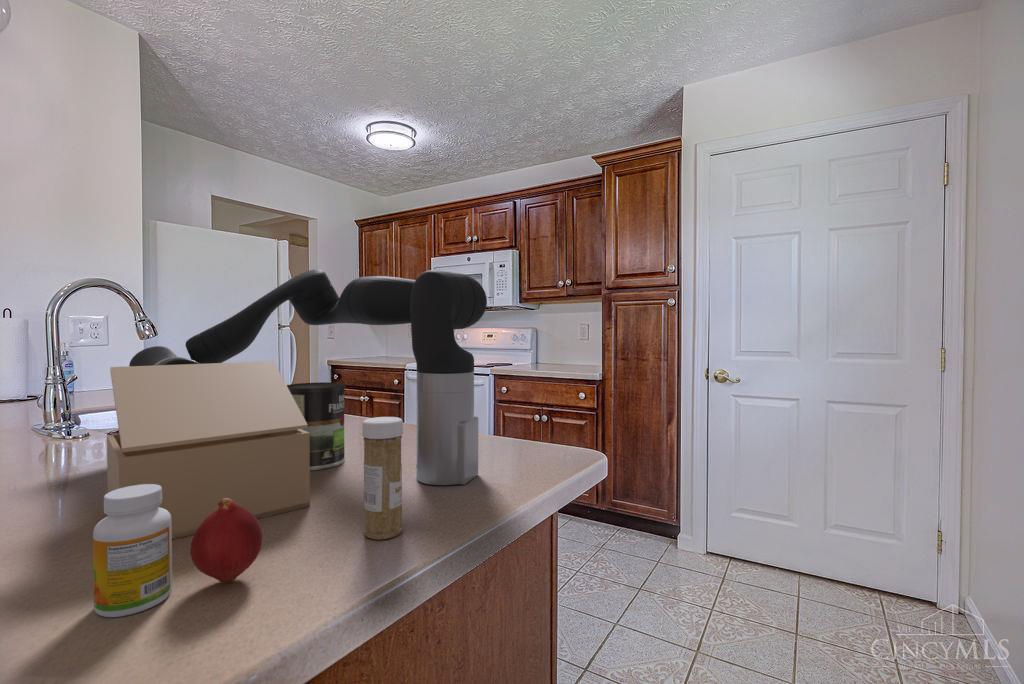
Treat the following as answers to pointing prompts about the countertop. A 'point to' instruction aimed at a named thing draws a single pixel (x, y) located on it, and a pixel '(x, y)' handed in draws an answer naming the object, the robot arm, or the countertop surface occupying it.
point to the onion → (226, 542)
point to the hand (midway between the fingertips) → (200, 388)
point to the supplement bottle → (132, 552)
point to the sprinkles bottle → (382, 477)
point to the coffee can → (322, 421)
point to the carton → (219, 475)
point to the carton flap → (200, 403)
